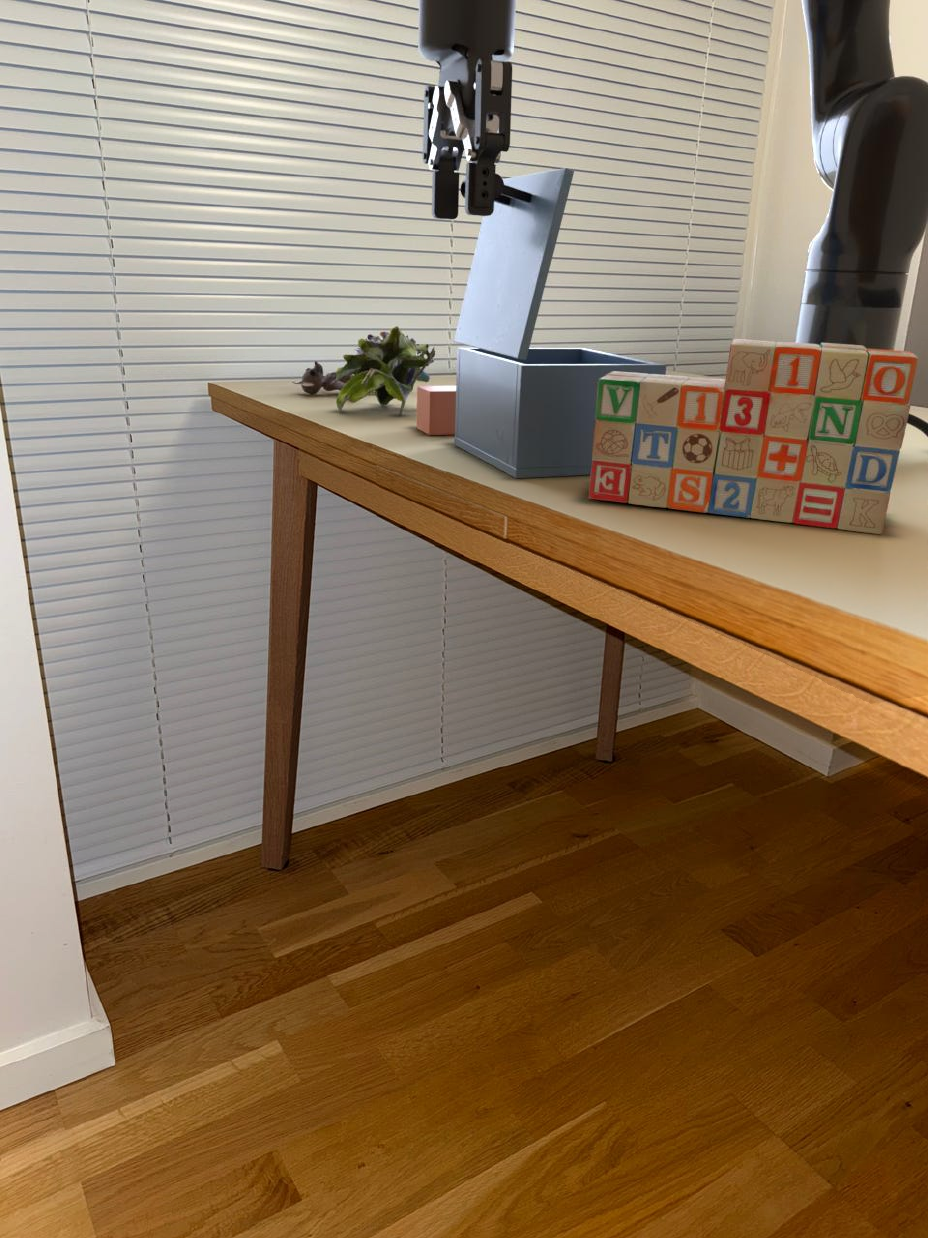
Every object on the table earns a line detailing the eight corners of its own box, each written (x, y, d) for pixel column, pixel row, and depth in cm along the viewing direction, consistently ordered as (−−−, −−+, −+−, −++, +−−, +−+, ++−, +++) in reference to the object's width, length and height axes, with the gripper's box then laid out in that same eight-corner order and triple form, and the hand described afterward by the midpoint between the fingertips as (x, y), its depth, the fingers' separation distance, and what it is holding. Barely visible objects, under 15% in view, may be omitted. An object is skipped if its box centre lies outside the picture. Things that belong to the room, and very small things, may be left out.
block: (455, 427, 102) (456, 385, 101) (469, 434, 98) (471, 390, 97) (416, 428, 101) (416, 385, 99) (429, 435, 97) (430, 391, 95)
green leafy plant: (382, 449, 117) (426, 367, 118) (420, 448, 108) (467, 359, 109) (308, 399, 112) (354, 314, 113) (341, 394, 102) (391, 301, 103)
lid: (498, 183, 85) (446, 165, 83) (574, 170, 72) (514, 149, 69) (461, 343, 89) (410, 330, 87) (526, 360, 76) (468, 345, 73)
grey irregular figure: (427, 376, 120) (321, 366, 113) (424, 409, 121) (318, 402, 114) (373, 361, 135) (276, 352, 128) (371, 391, 136) (274, 384, 129)
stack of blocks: (586, 501, 72) (599, 334, 67) (601, 485, 77) (615, 330, 73) (884, 534, 66) (921, 353, 61) (878, 514, 71) (911, 347, 67)
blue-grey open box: (577, 440, 97) (584, 348, 94) (655, 471, 83) (666, 364, 80) (454, 444, 92) (457, 347, 89) (515, 478, 79) (521, 365, 76)
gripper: (551, -31, 67) (537, 217, 72) (480, 13, 79) (473, 221, 85) (452, -46, 64) (446, 212, 70) (395, 2, 77) (393, 217, 82)
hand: (461, 217), depth 77 cm, fingers open, 8 cm apart
